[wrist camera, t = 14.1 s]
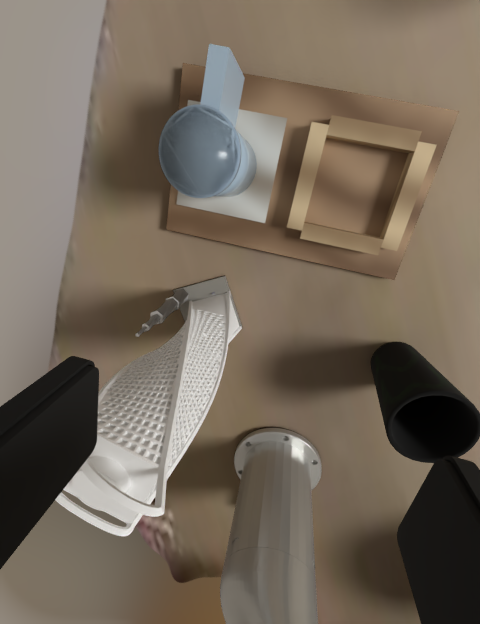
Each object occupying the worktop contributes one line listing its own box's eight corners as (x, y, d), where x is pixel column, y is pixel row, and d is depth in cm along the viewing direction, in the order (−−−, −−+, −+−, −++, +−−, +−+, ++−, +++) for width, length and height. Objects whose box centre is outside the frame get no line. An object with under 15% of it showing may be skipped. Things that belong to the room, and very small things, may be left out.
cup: (352, 346, 39) (374, 406, 28) (418, 324, 37) (469, 380, 26) (373, 396, 41) (402, 471, 30) (437, 378, 39) (492, 452, 28)
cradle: (389, 255, 34) (394, 258, 32) (285, 233, 35) (284, 235, 33) (432, 138, 30) (440, 134, 28) (313, 116, 31) (314, 111, 29)
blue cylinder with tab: (250, 204, 34) (230, 206, 25) (194, 190, 35) (154, 187, 25) (274, 93, 30) (261, 47, 21) (211, 80, 31) (171, 30, 22)
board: (391, 277, 36) (395, 280, 34) (170, 228, 38) (165, 229, 37) (453, 114, 30) (460, 110, 29) (186, 67, 32) (181, 61, 31)
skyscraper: (236, 272, 39) (112, 433, 13) (255, 332, 41) (184, 573, 15) (174, 289, 41) (-41, 458, 15) (195, 346, 43) (42, 577, 17)
